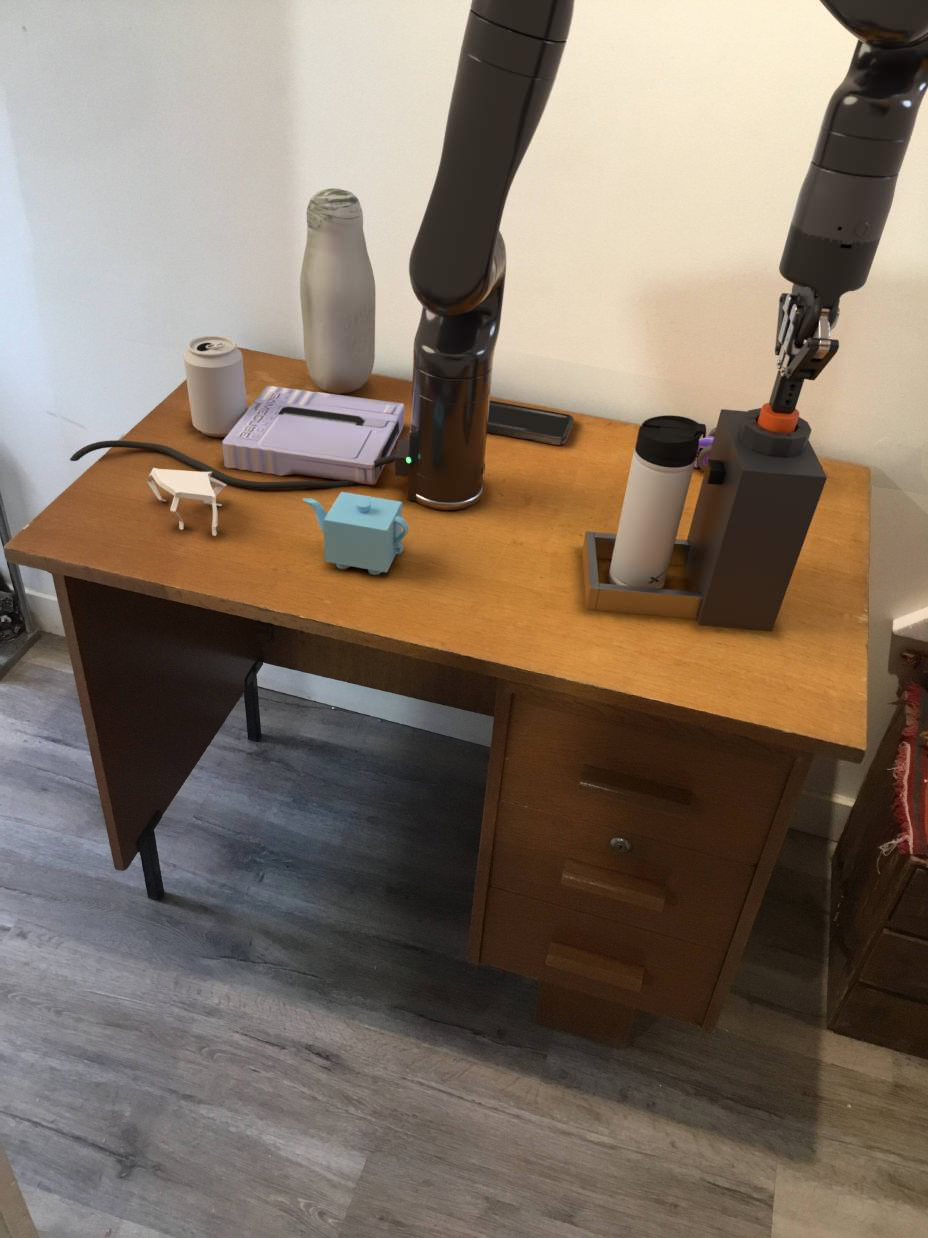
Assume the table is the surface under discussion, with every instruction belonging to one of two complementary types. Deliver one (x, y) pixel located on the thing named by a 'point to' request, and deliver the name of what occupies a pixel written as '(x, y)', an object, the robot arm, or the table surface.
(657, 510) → the travel mug
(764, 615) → the coffee maker
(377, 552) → the teapot
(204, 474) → the origami figure
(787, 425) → the button
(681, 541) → the frame
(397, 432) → the gaming console
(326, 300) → the grey bottle
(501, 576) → the table surface
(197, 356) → the can
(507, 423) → the phone
